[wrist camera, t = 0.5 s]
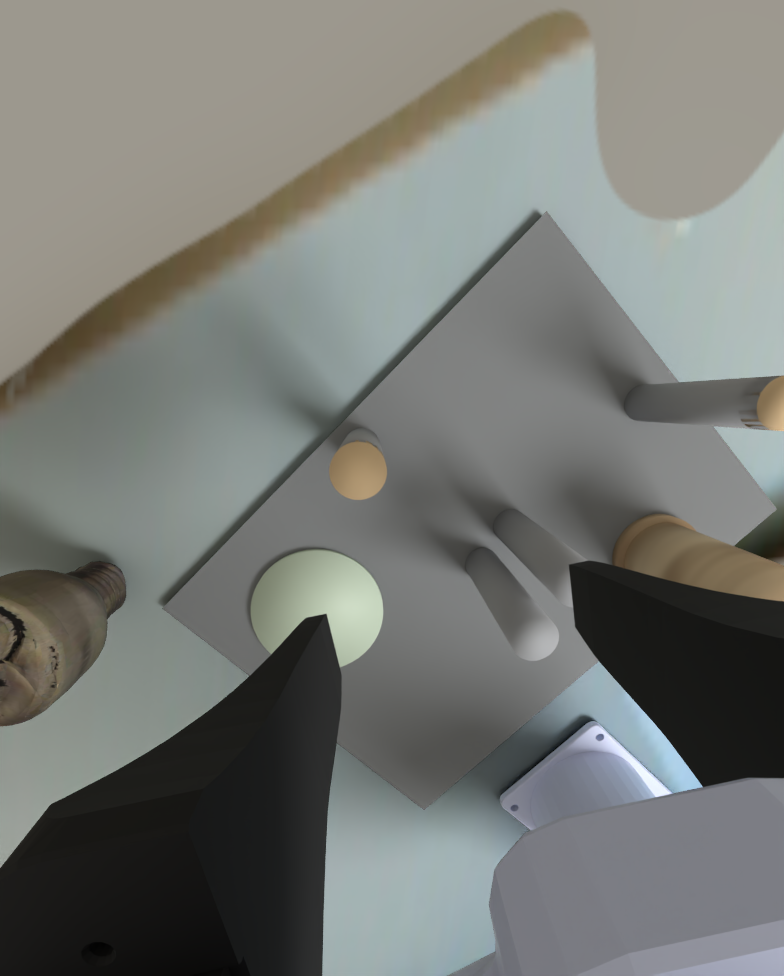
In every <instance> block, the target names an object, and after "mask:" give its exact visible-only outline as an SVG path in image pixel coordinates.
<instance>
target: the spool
mask: <svg viewBox="0 0 784 976" xmlns="http://www.w3.org/2000/svg"><path fill="white" fill-rule="evenodd" d="M612 564H613V565H614V566H618V567H622V568H625V569H629V570H633V571H636V572H640V573H644V574H647V575H651V576H655V577H658V578H662V579H666V580H670V581H674V582H678V583H682V584H687V585H691V586H695V587H700V588H704V589H709V590H714V591H719V592H724V593H730V594H736V595H742V596H748V597H754V598H761V599H768V600H776V601H784V566H783V565H780V564H778V563H775V562H773V561H770V560H767V559H765V558H762V557H760V556H757V555H755V554H752V553H750V552H747V551H745V550H742V549H739V548H737V547H734V546H732V545H729V544H727V543H724V542H722V541H719V540H717V539H714V538H711V537H709V536H706V535H704V534H701V533H699V532H696V530H695V529H694V528H693V527H692V526H691V525H690V524H689V523H687V522H686V521H684V520H681V519H679V518H676V517H673V516H670V515H666V514H652V515H648V516H645V517H642V518H640V519H638V520H636V521H634V522H633V523H632V524H630V525H629V526H628V527H627V528H626V529H625V530H624V531H623V532H622V533H621V535H620V536H619V538H618V540H617V542H616V544H615V547H614V550H613V555H612Z"/></svg>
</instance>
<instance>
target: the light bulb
mask: <svg viewBox="0 0 784 976" xmlns="http://www.w3.org/2000/svg"><path fill="white" fill-rule="evenodd" d="M125 598H126V584H125V579H124V576H123V573H122V571H121V570H120V569H119V568H118V567H116V566H115V565H113V564H110V563H105V562H101V561H99V562H90V563H89V564H87V565H85V566H83V567H79V568H78V569H77V570H76V571H75V572H70V573H67V574H63V573H59V572H54V571H49V570H26V571H19V572H15V573H11V574H8V575H4V576H1V577H0V726H10V725H14V724H18V723H22V722H25V721H27V720H30V719H32V718H34V717H35V716H37V715H39V714H40V713H42V712H44V711H45V710H46V709H47V708H49V707H50V706H51V705H52V704H53V703H54V702H55V701H56V700H57V699H59V698H60V697H61V696H62V695H63V694H64V693H65V692H67V691H68V690H69V689H70V688H71V687H72V686H73V684H74V683H75V682H76V681H77V680H78V679H79V678H80V677H81V676H82V675H83V674H84V673H85V672H86V671H87V670H88V669H89V668H90V667H91V666H92V665H93V663H94V662H95V660H96V659H97V658H98V656H99V654H100V653H101V651H102V649H103V647H104V644H105V641H106V636H107V624H108V623H107V619H108V618H109V617H110V615H111V614H113V613H114V612H115V611H116V610H117V609H119V608H120V607H121V606H122V605H123V603H124V601H125Z"/></svg>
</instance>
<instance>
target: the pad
mask: <svg viewBox="0 0 784 976" xmlns="http://www.w3.org/2000/svg"><path fill="white" fill-rule="evenodd" d="M322 614H327V618H328V622H329V626H330V630H331V634H332V638H333V642H334V646H335V650H336V654H337V658H338V662H339V666H340V667H342V666H345V665H347V664H349V663H351V662H353V661H355V660H356V659H358V658H359V657H360V656H362V655H363V654H364V653H365V652H366V651H367V650H368V649H369V648H370V647H371V645H372V644H373V643H374V641H375V639H376V638H377V636H378V634H379V631H380V628H381V625H382V620H383V600H382V596H381V592H380V589H379V587H378V585H377V583H376V581H375V579H374V578H373V576H372V575H371V574H370V572H369V571H368V570H367V569H366V568H365V567H364V566H363V565H361V564H360V563H359V562H358V561H356V560H354V559H353V558H351V557H349V556H347V555H345V554H343V553H339V552H336V551H332V550H326V549H308V550H303V551H298V552H295V553H292V554H289V555H287V556H285V557H283V558H282V559H280V560H279V561H277V562H276V563H274V564H273V565H272V566H271V567H270V568H269V569H268V570H267V571H266V572H265V573H264V574H263V576H262V578H261V579H260V581H259V582H258V584H257V586H256V588H255V590H254V593H253V596H252V601H251V620H252V625H253V628H254V631H255V633H256V635H257V637H258V639H259V641H260V642H261V644H262V645H263V646H264V647H265V649H266V650H267V651H268V652H269V653H271V654H272V653H273V652H274V651H275V650H276V649H277V648H278V647H279V646H280V645H281V643H282V642H283V641H284V640H285V639H286V638H287V637H288V636H289V635H290V634H291V633H292V631H293V630H294V629H295V628H296V627H297V626H298V625H299V624H300V623H301V622H302V621H303V620H304V619H305V618H307V617H312V616H317V615H322Z"/></svg>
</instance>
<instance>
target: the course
mask: <svg viewBox="0 0 784 976" xmlns="http://www.w3.org/2000/svg"><path fill="white" fill-rule="evenodd" d="M713 426H718V427H733V428H747V429H762V430H777V431H784V376H771V377H755V378H740V379H725V380H710V381H694V382H678V380H677V379H676V378H675V377H674V375H673V374H672V373H671V371H670V370H669V369H668V368H667V366H666V365H665V364H664V362H663V361H662V360H661V359H660V357H659V356H658V355H657V353H656V352H655V351H654V349H653V348H652V347H651V346H650V344H649V343H648V342H647V340H646V339H645V338H644V337H643V335H642V334H641V333H640V331H639V330H638V329H637V327H636V326H635V325H634V324H633V322H632V321H631V320H630V318H629V317H628V316H627V315H626V313H625V312H624V311H623V309H622V308H621V307H620V306H619V304H618V303H617V302H616V300H615V299H614V298H613V296H612V295H611V294H610V293H609V291H608V290H607V289H606V287H605V286H604V285H603V284H602V282H601V281H600V280H599V278H598V277H597V276H596V274H595V273H594V272H593V271H592V269H591V268H590V267H589V265H588V264H587V263H586V262H585V260H584V259H583V258H582V256H581V255H580V254H579V252H578V251H577V250H576V249H575V247H574V246H573V245H572V243H571V242H570V241H569V240H568V238H567V237H566V236H565V234H564V233H563V232H562V231H561V229H560V228H559V227H558V225H557V224H556V223H555V221H554V220H553V219H552V218H551V216H550V215H549V214H548V212H547V211H546V212H545V213H544V214H543V216H542V217H541V218H540V219H539V220H538V221H537V222H536V223H535V224H534V225H533V226H532V227H531V228H530V229H529V230H528V231H527V232H526V233H525V234H524V235H523V236H522V237H521V238H520V239H519V240H518V241H517V242H516V243H515V244H514V245H513V246H512V248H511V249H510V250H509V251H508V252H507V253H506V254H505V255H504V256H503V257H502V258H501V259H500V260H499V261H498V262H497V263H496V264H495V265H494V266H493V267H492V268H491V269H490V270H489V271H488V272H487V273H486V274H485V275H484V276H483V277H482V279H481V280H480V281H479V282H478V283H477V284H476V285H475V286H474V287H473V288H472V289H471V290H470V291H469V292H468V293H467V294H466V295H465V296H464V297H463V298H462V299H461V300H460V301H459V302H458V303H457V304H456V305H455V306H454V307H453V308H452V310H451V311H450V312H449V313H448V314H447V315H446V316H445V317H444V318H443V319H442V320H441V321H440V322H439V323H438V324H437V325H436V326H435V327H434V328H433V329H432V330H431V331H430V332H429V333H428V334H427V335H426V336H425V337H424V338H423V339H422V340H421V342H420V343H419V344H418V345H417V346H416V347H415V348H414V349H413V350H412V351H411V352H410V353H409V354H408V355H407V356H406V357H405V358H404V359H403V360H402V361H401V362H400V363H399V364H398V365H397V366H396V367H395V368H394V369H393V370H392V371H391V373H390V374H389V375H388V376H387V377H386V378H385V379H384V380H383V381H382V382H381V383H380V384H379V385H378V386H377V387H376V388H375V389H374V390H373V391H372V392H371V393H370V394H369V395H368V396H367V397H366V398H365V399H364V400H363V401H362V402H361V403H360V405H359V406H358V407H357V408H356V409H355V410H354V411H353V412H352V413H351V414H350V415H349V416H348V417H347V418H346V419H345V420H344V421H343V422H342V423H341V424H340V425H339V426H338V427H337V428H336V429H335V430H334V431H333V432H332V433H331V434H330V436H329V437H328V438H327V439H326V440H325V441H324V442H323V443H322V444H321V445H320V446H319V447H318V448H317V449H316V450H315V451H314V452H313V453H312V454H311V455H310V456H309V457H308V458H307V459H306V460H305V461H304V462H303V463H302V464H301V465H300V467H299V468H298V469H297V470H296V471H295V472H294V473H293V474H292V475H291V476H290V477H289V478H288V479H287V480H286V481H285V482H284V483H283V484H282V485H281V486H280V487H279V488H278V489H277V490H276V491H275V492H274V493H273V494H272V495H271V496H270V497H269V499H268V500H267V501H266V502H265V503H264V504H263V505H262V506H261V507H260V508H259V509H258V510H257V511H256V512H255V513H254V514H253V515H252V516H251V517H250V518H249V519H248V520H247V521H246V522H245V523H244V524H243V525H242V526H241V527H240V528H239V530H238V531H237V532H236V533H235V534H234V535H233V536H232V537H231V538H230V539H229V540H228V541H227V542H226V543H225V544H224V545H223V546H222V547H221V548H220V549H219V550H218V551H217V552H216V553H215V554H214V555H213V556H212V557H211V558H210V559H209V561H208V562H207V563H206V564H205V565H204V566H203V567H202V568H201V569H200V570H199V571H198V572H197V573H196V574H195V575H194V576H193V577H192V578H191V579H190V580H189V581H188V582H187V583H186V584H185V585H184V586H183V587H182V588H181V589H180V590H179V591H178V593H177V594H176V595H175V596H174V597H173V598H172V599H171V600H170V601H169V602H168V603H167V604H166V605H165V606H164V607H163V608H162V609H164V610H165V611H166V612H168V613H169V614H170V615H171V616H173V617H174V618H175V619H177V620H178V621H179V622H181V623H182V624H183V625H184V626H186V627H187V628H188V629H190V630H191V631H192V632H194V633H195V634H196V635H197V636H199V637H200V638H201V639H203V640H204V641H205V642H207V643H208V644H209V645H210V646H212V647H213V648H214V649H216V650H217V651H218V652H220V653H221V654H222V655H223V656H225V657H226V658H227V659H229V660H230V661H231V662H232V663H234V664H235V665H236V666H238V667H239V668H240V669H242V670H243V671H244V672H245V673H247V674H248V675H249V676H250V675H251V674H252V673H253V672H254V671H255V670H256V669H257V668H258V667H259V666H260V665H261V664H262V663H263V662H264V661H265V660H266V659H267V658H268V657H269V656H270V655H271V653H269V652H268V651H267V650H266V649H265V647H264V646H263V645H262V644H261V642H260V641H259V639H258V637H257V635H256V633H255V631H254V628H253V625H252V620H251V601H252V596H253V593H254V590H255V588H256V586H257V584H258V582H259V581H260V579H261V578H262V576H263V574H264V573H265V572H266V571H267V570H268V569H269V568H270V567H271V566H272V565H273V564H274V563H276V562H277V561H279V560H280V559H282V558H283V557H285V556H287V555H289V554H292V553H295V552H298V551H303V550H308V549H326V550H332V551H336V552H339V553H343V554H345V555H347V556H349V557H351V558H353V559H354V560H356V561H358V562H359V563H360V564H361V565H363V566H364V567H365V568H366V569H367V570H368V571H369V572H370V574H371V575H372V576H373V578H374V579H375V581H376V583H377V585H378V587H379V589H380V592H381V596H382V600H383V620H382V625H381V628H380V631H379V634H378V636H377V638H376V639H375V641H374V643H373V644H372V645H371V647H370V648H369V649H368V650H367V651H366V652H365V653H364V654H363V655H362V656H360V657H359V658H358V659H356V660H355V661H353V662H351V663H349V664H347V665H345V666H342V667H340V670H341V674H342V697H341V714H340V721H339V729H338V736H337V743H338V744H339V745H340V746H342V747H343V748H344V749H345V750H347V751H348V752H349V753H351V754H352V755H353V756H355V757H356V758H357V759H358V760H360V761H361V762H362V763H364V764H365V765H366V766H368V767H369V768H370V769H371V770H373V771H374V772H375V773H377V774H378V775H379V776H381V777H382V778H383V779H384V780H386V781H387V782H388V783H390V784H391V785H392V786H394V787H395V788H396V789H397V790H399V791H400V792H401V793H403V794H404V795H405V796H407V797H408V798H409V799H410V800H412V801H413V802H414V803H416V804H417V805H418V806H420V807H421V808H422V809H423V810H425V809H426V808H427V807H428V806H429V805H431V804H432V803H433V802H434V801H435V800H436V799H438V798H439V797H440V796H441V795H442V794H444V793H445V792H446V791H447V790H448V789H449V788H451V787H452V786H453V785H454V784H455V783H456V782H458V781H459V780H460V779H461V778H462V777H463V776H465V775H466V774H467V773H468V772H469V771H470V770H472V769H473V768H474V767H475V766H476V765H477V764H479V763H480V762H481V761H482V760H483V759H485V758H486V757H487V756H488V755H489V754H490V753H492V752H493V751H494V750H495V749H496V748H497V747H499V746H500V745H501V744H502V743H503V742H504V741H506V740H507V739H508V738H509V737H510V736H511V735H513V734H514V733H515V732H516V731H517V730H518V729H520V728H521V727H522V726H523V725H524V724H526V723H527V722H528V721H529V720H530V719H531V718H533V717H534V716H535V715H536V714H537V713H538V712H540V711H541V710H542V709H543V708H544V707H545V706H547V705H548V704H549V703H550V702H551V701H552V700H554V699H555V698H556V697H557V696H558V695H560V694H561V693H562V692H563V691H564V690H565V689H567V688H568V687H569V686H570V685H571V684H572V683H574V682H575V681H576V680H577V679H578V678H579V677H581V676H582V675H583V674H584V673H585V672H586V671H588V670H589V669H590V668H591V667H592V666H593V665H595V664H596V663H597V662H598V661H599V660H598V659H597V658H596V657H595V656H594V654H593V653H592V651H591V650H590V649H589V647H588V646H587V644H586V643H585V641H584V640H583V638H582V637H581V635H580V634H579V632H578V631H577V629H576V628H575V621H574V611H573V602H572V592H571V582H570V572H569V564H574V563H579V562H584V561H589V560H590V561H597V562H602V563H606V564H610V565H613V564H612V555H613V550H614V547H615V544H616V542H617V540H618V538H619V536H620V535H621V533H622V532H623V531H624V530H625V529H626V528H627V527H628V526H629V525H630V524H632V523H633V522H634V521H636V520H638V519H640V518H642V517H645V516H648V515H652V514H666V515H670V516H673V517H676V518H679V519H681V520H684V521H686V522H687V523H689V524H690V525H691V526H692V527H693V528H694V529H695V530H696V532H699V533H701V534H704V535H706V536H709V537H711V538H714V539H717V540H719V541H722V542H724V543H727V544H729V545H732V546H734V545H735V544H736V543H738V542H739V541H740V540H741V539H742V538H743V537H745V536H746V535H747V534H748V533H749V532H751V531H752V530H753V529H754V528H755V527H756V526H758V525H759V524H760V523H761V522H762V521H763V520H765V519H766V518H767V517H768V516H769V515H770V514H772V513H773V512H774V511H775V510H776V509H777V508H776V507H775V506H774V505H773V503H772V502H771V501H770V499H769V498H768V497H767V496H766V494H765V493H764V492H763V490H762V489H761V488H760V487H759V485H758V484H757V483H756V481H755V480H754V479H753V477H752V476H751V475H750V474H749V472H748V471H747V470H746V468H745V467H744V466H743V465H742V463H741V462H740V461H739V459H738V458H737V457H736V455H735V454H734V453H733V452H732V450H731V449H730V448H729V446H728V445H727V444H726V443H725V441H724V440H723V439H722V437H721V436H720V435H719V434H718V432H717V431H716V430H715V428H714V427H713Z"/></svg>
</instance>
